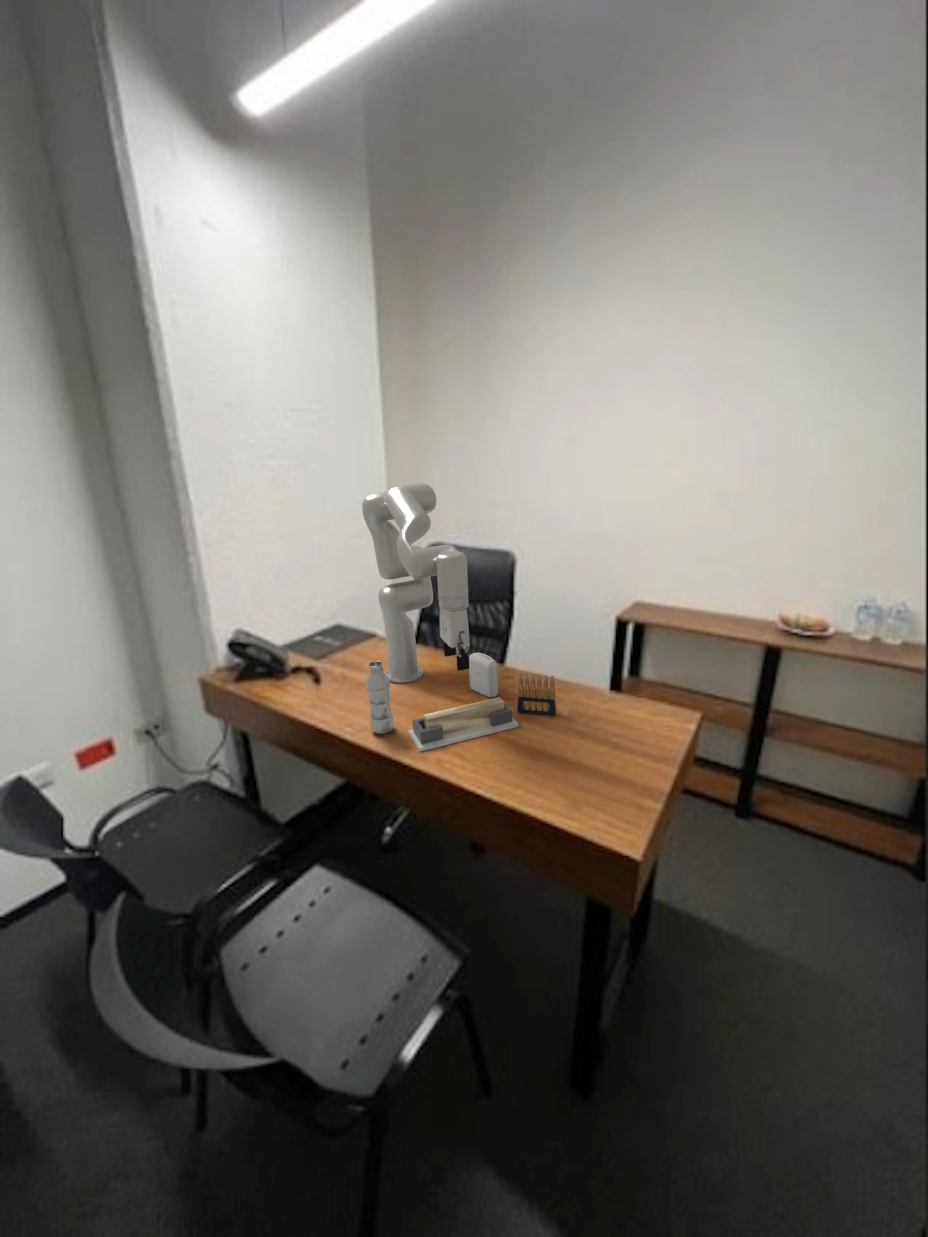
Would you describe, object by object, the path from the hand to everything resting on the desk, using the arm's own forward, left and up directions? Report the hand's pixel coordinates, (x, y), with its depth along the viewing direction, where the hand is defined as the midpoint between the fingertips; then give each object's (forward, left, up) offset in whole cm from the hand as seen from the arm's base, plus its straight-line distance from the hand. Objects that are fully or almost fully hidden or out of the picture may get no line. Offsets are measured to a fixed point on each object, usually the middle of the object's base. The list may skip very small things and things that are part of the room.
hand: (456, 662), depth 149 cm
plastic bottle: (-7, -20, -19) cm, 29 cm away
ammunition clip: (+3, +22, -19) cm, 29 cm away
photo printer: (-16, +14, -19) cm, 29 cm away
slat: (+2, +1, -18) cm, 18 cm away
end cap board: (+2, 0, -19) cm, 19 cm away
